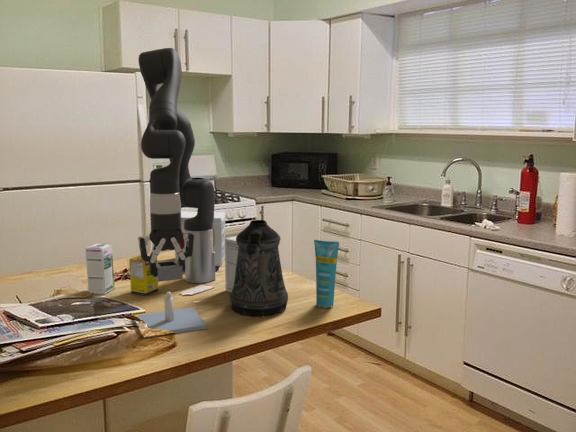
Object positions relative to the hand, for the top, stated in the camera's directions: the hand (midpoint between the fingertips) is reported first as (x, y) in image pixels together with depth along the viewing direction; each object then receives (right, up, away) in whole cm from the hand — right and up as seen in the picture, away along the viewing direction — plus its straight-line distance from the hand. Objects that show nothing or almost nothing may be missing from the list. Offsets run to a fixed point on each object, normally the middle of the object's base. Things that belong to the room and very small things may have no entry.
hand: (167, 274), depth 139 cm
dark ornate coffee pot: (+23, -11, +14) cm, 29 cm away
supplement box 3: (+18, -8, +30) cm, 36 cm away
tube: (+42, -11, +17) cm, 46 cm away
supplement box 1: (-13, -9, +28) cm, 32 cm away
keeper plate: (0, -13, +2) cm, 13 cm away
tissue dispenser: (0, -1, 0) cm, 1 cm away
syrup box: (-27, -8, +28) cm, 40 cm away
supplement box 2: (-1, -2, +64) cm, 64 cm away
